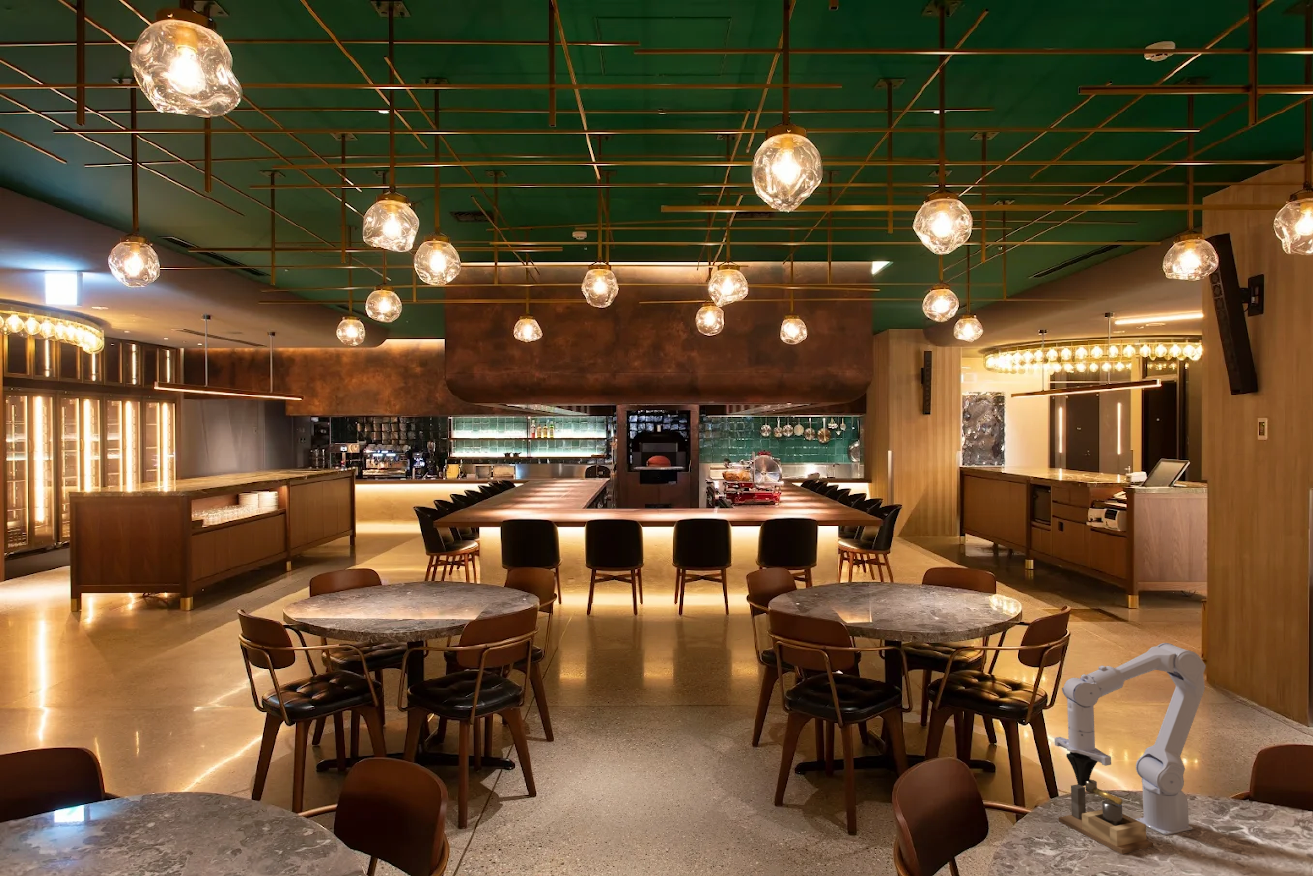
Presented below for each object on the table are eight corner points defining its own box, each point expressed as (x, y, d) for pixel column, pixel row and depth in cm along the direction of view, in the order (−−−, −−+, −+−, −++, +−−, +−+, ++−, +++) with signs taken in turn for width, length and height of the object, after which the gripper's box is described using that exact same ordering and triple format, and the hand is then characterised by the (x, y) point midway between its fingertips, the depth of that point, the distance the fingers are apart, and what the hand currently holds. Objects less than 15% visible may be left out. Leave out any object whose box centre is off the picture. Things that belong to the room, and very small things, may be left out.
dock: (1088, 815, 187) (1087, 781, 187) (1153, 847, 171) (1152, 809, 171) (1058, 821, 183) (1057, 787, 184) (1121, 854, 167) (1120, 816, 168)
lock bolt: (1090, 789, 182) (1090, 778, 182) (1124, 804, 174) (1123, 793, 174) (1083, 790, 181) (1083, 780, 181) (1116, 805, 173) (1116, 794, 173)
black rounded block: (1126, 835, 174) (1125, 805, 174) (1116, 839, 172) (1115, 809, 173) (1110, 828, 178) (1109, 798, 178) (1099, 832, 176) (1098, 802, 176)
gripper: (1044, 721, 189) (1046, 775, 188) (1094, 740, 175) (1096, 799, 175) (1065, 718, 191) (1067, 772, 191) (1116, 737, 178) (1119, 794, 177)
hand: (1083, 784), depth 183 cm, fingers closed
